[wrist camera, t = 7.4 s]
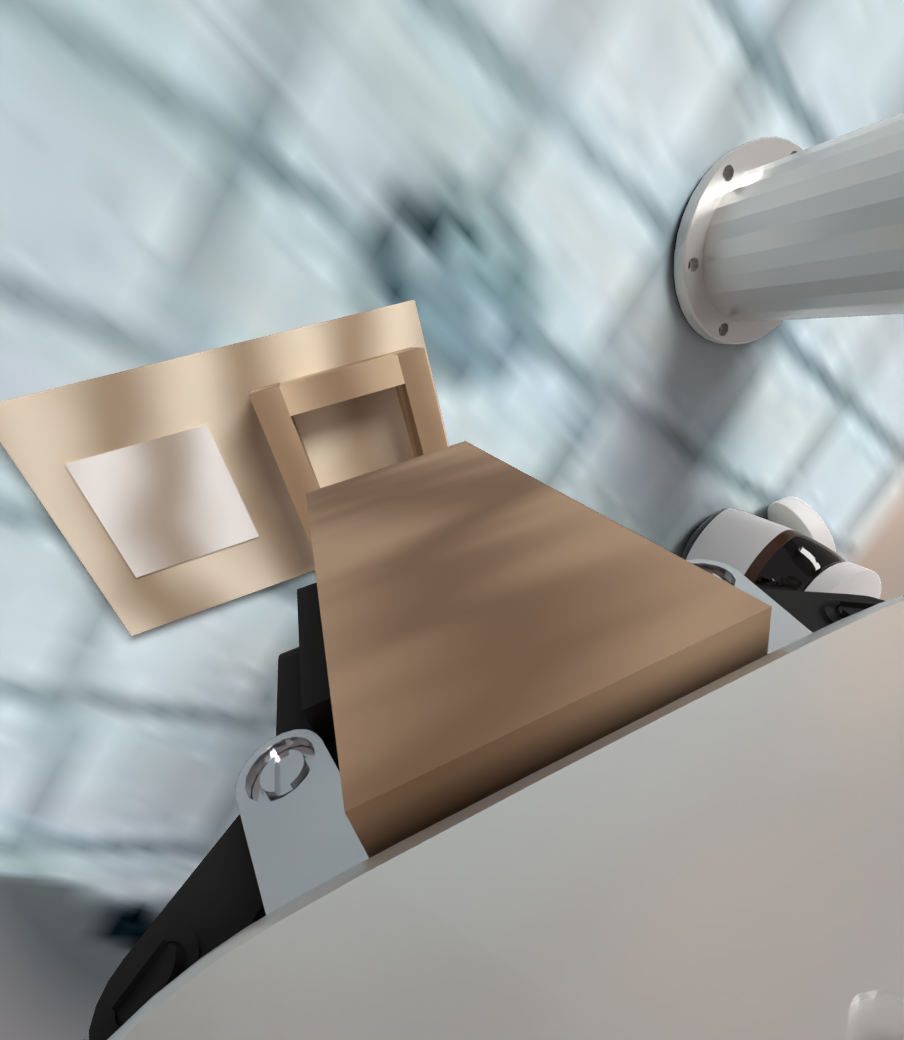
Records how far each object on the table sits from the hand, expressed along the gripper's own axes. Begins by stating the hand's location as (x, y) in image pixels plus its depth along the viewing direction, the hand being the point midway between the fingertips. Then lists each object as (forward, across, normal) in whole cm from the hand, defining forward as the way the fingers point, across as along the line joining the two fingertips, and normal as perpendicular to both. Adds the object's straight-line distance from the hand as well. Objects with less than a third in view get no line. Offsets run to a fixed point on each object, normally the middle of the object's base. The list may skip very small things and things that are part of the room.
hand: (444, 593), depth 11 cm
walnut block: (+4, 0, 0) cm, 4 cm away
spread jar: (+20, -31, +19) cm, 41 cm away
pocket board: (+19, +5, 0) cm, 20 cm away
